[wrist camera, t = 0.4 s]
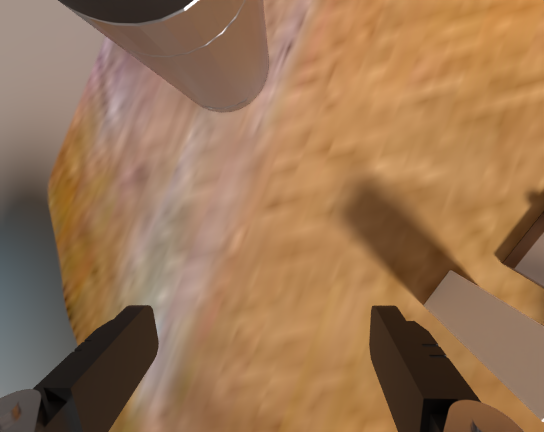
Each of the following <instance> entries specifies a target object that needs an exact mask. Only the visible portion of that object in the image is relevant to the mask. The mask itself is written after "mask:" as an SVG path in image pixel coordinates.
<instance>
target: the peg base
mask: <svg viewBox="0 0 544 432" xmlns="http://www.w3.org/2000/svg"><path fill="white" fill-rule="evenodd" d="M503 264H504V265H506V266H507V267H509V268H511V269H512V270H514V271H516V272H517V273H519V274H521V275H522V276H524V277H526V278H527V279H529V280H531V281H532V282H534V283H536V284H537V285H539V286H541V287H542V288H544V212H543V213H542V214H541V216H540V217H539V218H538V220H537V221H536V222H535V223H534V225H533V226H532V227H531V228H530V230H529V231H528V232H527V233H526V235H525V236H524V237H523V238H522V240H521V241H520V242H519V243H518V245H517V246H516V247H515V248H514V250H513V251H512V252H511V253H510V255H509V256H508V257H507V258H506V260H505V261H504V262H503Z"/></svg>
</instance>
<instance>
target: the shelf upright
mask: <svg viewBox="0 0 544 432" xmlns="http://www.w3.org/2000/svg"><path fill="white" fill-rule="evenodd" d="M423 306H424V307H425V308H426V309H427V310H429V311H430V312H431V313H432V314H433V315H434V316H435V317H436V318H437V319H438V320H439V321H440V322H441V323H442V324H443V325H444V326H445V327H446V328H447V329H448V330H449V331H450V332H451V333H452V334H453V335H454V336H455V337H456V338H457V339H458V340H459V341H460V342H461V343H462V344H463V345H464V346H465V347H466V348H467V349H469V350H470V351H471V352H472V353H473V354H474V355H475V356H476V357H477V358H478V359H479V360H480V361H481V362H482V363H483V364H484V365H485V366H486V367H487V368H488V369H489V370H490V371H491V372H492V373H493V374H494V375H495V376H496V377H497V378H498V379H499V380H500V381H501V382H502V383H503V384H504V385H505V386H506V387H507V388H508V389H510V390H511V391H512V392H513V393H514V394H515V395H516V396H517V397H518V398H519V399H520V400H521V401H522V402H523V403H524V404H525V405H526V406H527V407H528V408H529V409H530V410H531V411H532V412H533V413H534V414H535V415H536V416H537V417H538V418H539V419H540V420H541V421H543V422H544V326H543V325H541V324H540V323H538V322H536V321H535V320H533V319H531V318H530V317H528V316H527V315H525V314H523V313H522V312H520V311H518V310H517V309H515V308H513V307H512V306H510V305H508V304H507V303H505V302H504V301H502V300H500V299H499V298H497V297H495V296H494V295H492V294H490V293H489V292H487V291H485V290H484V289H482V288H481V287H479V286H477V285H475V284H474V283H472V282H470V281H469V280H467V279H465V278H464V277H462V276H460V275H458V274H457V273H455V272H453V271H452V270H450V271H449V272H448V274H447V275H446V276H445V277H444V279H443V280H442V281H441V283H440V284H439V285H438V287H437V288H436V289H435V291H434V292H433V293H432V295H431V296H430V297H429V299H428V300H427V301H426V303H425V304H424V305H423Z"/></svg>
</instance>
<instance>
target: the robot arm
mask: <svg viewBox="0 0 544 432" xmlns="http://www.w3.org/2000/svg"><path fill="white" fill-rule="evenodd" d="M58 1H60V2H61V3H62V4H64V5H65V6H66V7H68V8H69V9H70V10H72V11H73V12H74V13H76V14H77V15H78V16H80V17H81V18H82V19H84V20H85V21H86V22H88V23H89V24H90V25H92V26H93V27H94V28H96V29H97V30H98V31H100V32H101V33H102V34H104V35H105V36H106V37H108V38H109V39H111V40H112V41H114V42H115V43H116V44H118V45H119V46H120V47H122V48H123V49H124V50H126V51H127V52H128V53H130V54H131V55H132V56H134V57H135V58H136V59H138V60H139V61H140V62H142V63H143V64H144V65H146V66H147V67H148V68H150V69H151V70H152V71H154V72H155V73H157V74H158V75H159V76H161V77H162V78H163V79H165V80H166V81H167V82H169V83H170V84H171V85H173V86H174V87H175V88H177V89H178V90H179V91H181V92H182V93H183V94H185V95H186V96H187V97H189V98H190V99H191V100H193V101H194V102H195V103H197V104H198V105H200V106H201V107H203V108H206V109H208V110H211V111H216V112H232V111H235V110H238V109H241V108H243V107H244V106H246V105H248V104H249V103H250V102H251V101H253V100H254V99H255V98H256V97H257V95H258V94H259V93H260V91H261V90H262V88H263V86H264V83H265V81H266V78H267V74H268V68H269V56H268V46H267V34H266V24H265V14H264V4H263V0H58ZM158 344H159V343H158V335H157V330H156V324H155V319H154V313H153V309H152V307H151V306H149V305H130V306H127V307H126V308H125V309H124V310H123V311H121V312H120V313H119V314H118V315H117V316H116V317H115V318H114V319H113V320H111V321H109V322H107V323H106V324H104V325H102V326H101V327H99V328H97V329H96V330H95V331H94V332H93V333H92V334H91V335H90V336H89V337H88V338H86V339H85V342H82V343H81V344H80V345H79V346H78V347H77V348H76V349H75V351H74V352H72V353H70V354H69V355H68V356H67V357H66V358H65V359H64V360H63V361H62V362H61V363H60V364H59V365H58V366H57V367H56V368H55V369H53V370H52V371H51V372H50V373H49V374H48V375H47V376H46V377H45V378H44V379H43V380H42V381H41V382H40V383H39V384H37V385H36V386H35V387H34V388H33V389H26V390H21V391H16V392H14V393H11V394H9V395H6V396H4V397H2V398H0V432H108V431H109V430H110V428H111V427H112V425H113V423H114V422H115V420H116V419H117V417H118V416H119V414H120V413H121V411H122V409H123V408H124V406H125V405H126V403H127V402H128V400H129V398H130V397H131V395H132V394H133V392H134V391H135V389H136V388H137V386H138V384H139V383H140V381H141V380H142V378H143V377H144V375H145V374H146V372H147V370H148V369H149V367H150V366H151V364H152V363H153V361H154V359H155V357H156V355H157V351H158ZM369 345H370V355H371V360H372V363H373V366H374V369H375V371H376V374H377V377H378V379H379V382H380V385H381V387H382V390H383V393H384V395H385V398H386V401H387V403H388V406H389V409H390V411H391V414H392V417H393V419H394V422H395V425H396V427H397V430H398V432H524V431H523V430H522V429H521V428H520V427H519V426H518V425H517V424H516V423H515V422H514V421H513V420H512V419H510V418H509V417H508V416H506V415H505V414H504V413H502V412H500V411H499V410H497V409H495V408H493V407H491V406H489V405H487V404H484V403H481V401H480V400H479V399H478V397H477V396H476V395H475V393H474V392H473V391H472V389H471V388H470V386H469V385H468V384H467V382H466V381H465V380H464V378H463V377H462V376H461V374H460V373H459V372H458V370H457V369H456V368H455V366H454V365H453V364H452V362H451V361H450V360H449V358H447V357H446V354H445V353H444V351H443V350H442V349H441V347H439V346H438V343H437V342H436V341H435V339H434V338H433V337H432V335H431V334H430V333H429V331H427V330H426V329H424V328H423V327H422V326H420V325H419V324H418V323H416V322H415V321H406V320H405V318H404V317H403V315H402V314H401V312H400V311H399V309H398V308H397V307H396V306H372V309H371V323H370V343H369Z"/></svg>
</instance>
